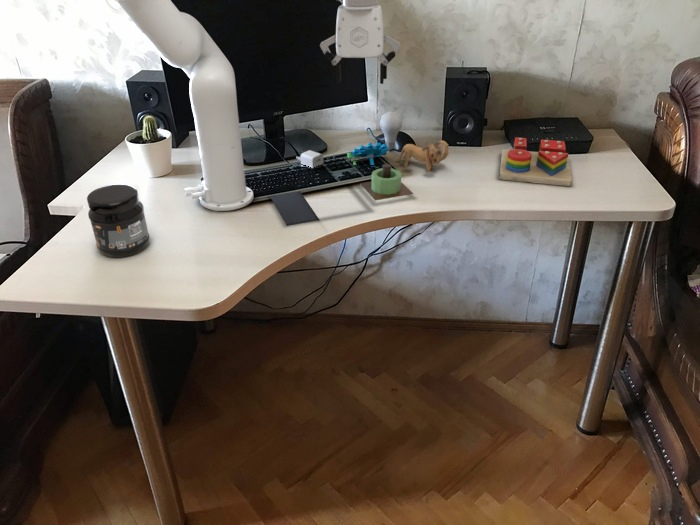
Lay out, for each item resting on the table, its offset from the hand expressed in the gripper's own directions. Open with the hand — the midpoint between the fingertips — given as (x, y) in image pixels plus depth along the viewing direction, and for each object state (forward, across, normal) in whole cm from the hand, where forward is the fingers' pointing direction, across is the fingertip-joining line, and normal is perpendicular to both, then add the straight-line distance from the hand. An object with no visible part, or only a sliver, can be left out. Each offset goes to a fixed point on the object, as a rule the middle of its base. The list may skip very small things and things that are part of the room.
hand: (360, 82), depth 133 cm
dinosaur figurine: (+26, +1, +15) cm, 30 cm away
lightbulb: (+27, +7, +26) cm, 38 cm away
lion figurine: (+27, +15, +12) cm, 33 cm away
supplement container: (+26, -48, -31) cm, 62 cm away
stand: (+26, +6, -2) cm, 27 cm away
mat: (+26, -9, -9) cm, 29 cm away
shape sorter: (+27, +45, +15) cm, 54 cm away
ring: (+25, +6, -2) cm, 26 cm away
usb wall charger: (+26, -15, +13) cm, 33 cm away
